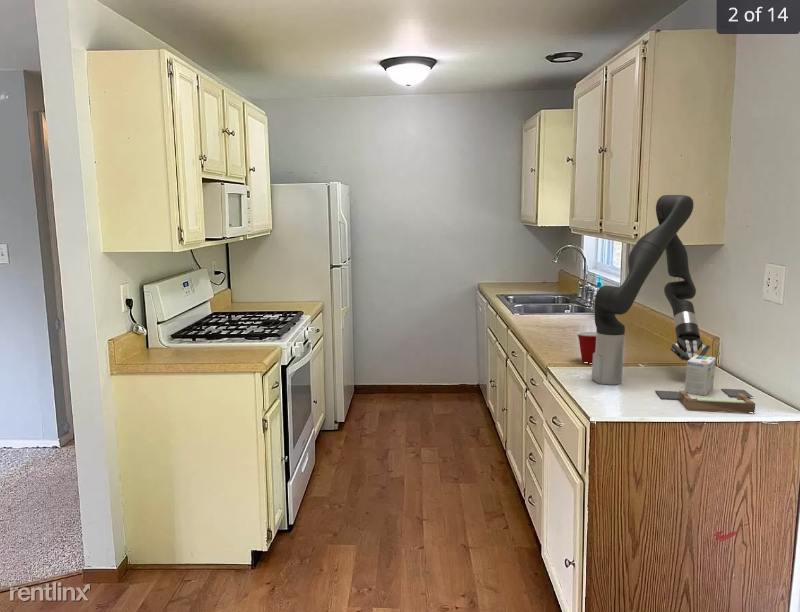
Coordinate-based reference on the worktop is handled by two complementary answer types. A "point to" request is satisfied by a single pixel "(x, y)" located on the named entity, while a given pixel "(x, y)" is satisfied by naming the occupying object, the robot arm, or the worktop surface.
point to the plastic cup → (587, 345)
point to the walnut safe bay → (717, 403)
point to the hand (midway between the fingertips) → (694, 369)
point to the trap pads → (675, 394)
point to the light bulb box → (700, 375)
